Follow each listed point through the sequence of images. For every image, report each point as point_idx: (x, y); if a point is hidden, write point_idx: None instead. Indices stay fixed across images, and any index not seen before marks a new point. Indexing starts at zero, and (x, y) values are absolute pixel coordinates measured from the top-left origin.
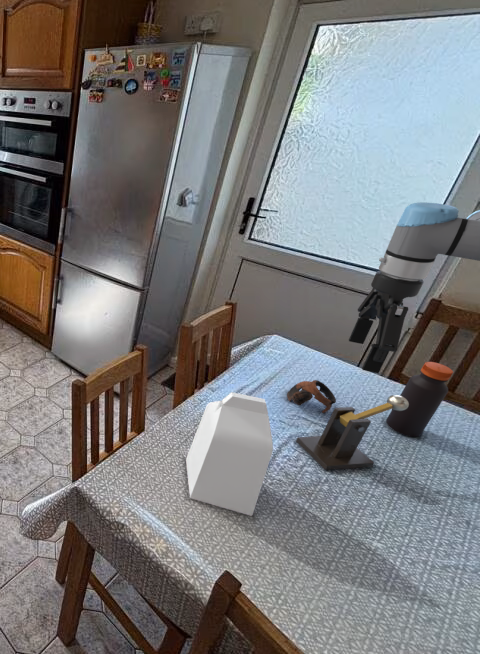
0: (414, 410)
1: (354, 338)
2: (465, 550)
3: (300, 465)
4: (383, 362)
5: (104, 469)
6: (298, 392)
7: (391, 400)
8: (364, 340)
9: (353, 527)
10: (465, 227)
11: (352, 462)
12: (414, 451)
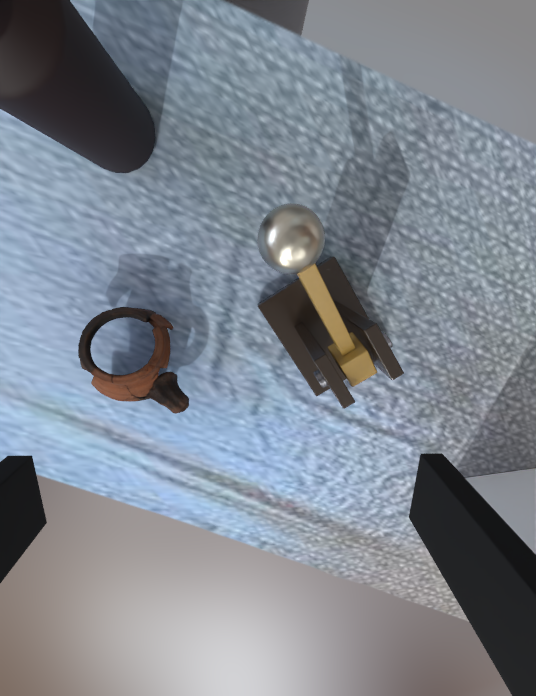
0: (119, 111)
1: (20, 532)
2: (514, 145)
3: (387, 390)
4: (506, 525)
5: None
6: (175, 410)
7: (305, 268)
8: (8, 480)
9: (516, 329)
10: None
11: (354, 303)
12: (218, 135)
